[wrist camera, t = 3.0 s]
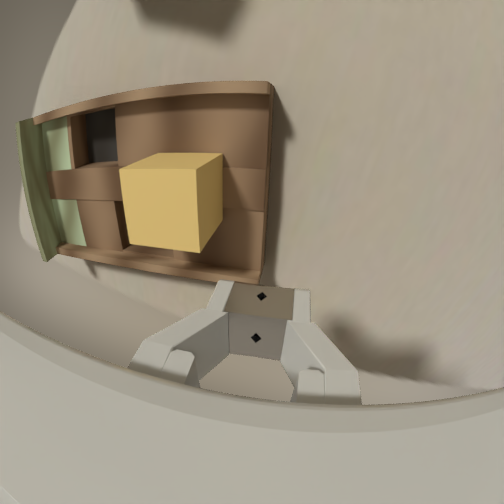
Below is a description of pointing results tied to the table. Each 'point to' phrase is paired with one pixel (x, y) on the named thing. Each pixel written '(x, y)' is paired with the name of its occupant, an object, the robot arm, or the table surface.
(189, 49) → the table surface
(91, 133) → the board
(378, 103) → the table surface
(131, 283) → the table surface
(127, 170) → the block
